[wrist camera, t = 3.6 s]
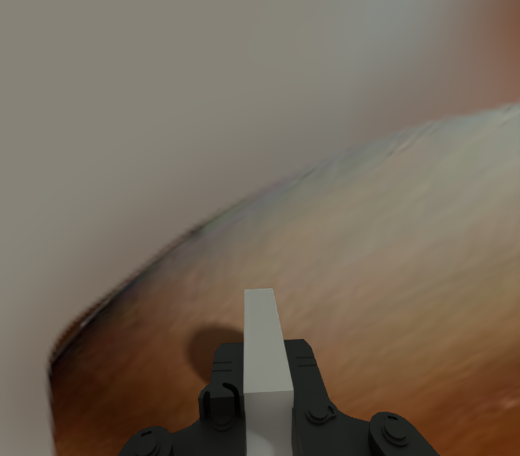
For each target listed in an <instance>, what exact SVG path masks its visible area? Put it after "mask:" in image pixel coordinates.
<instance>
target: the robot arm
mask: <svg viewBox="0 0 520 456" xmlns="http://www.w3.org/2000/svg"><path fill="white" fill-rule="evenodd" d="M198 402H199V413H200V418H199V419H198V420H197V421H196V422H195V423H194V424H192V425H191V426H189V427H187V428H185V429H183V430H180V431H178V432H175V433H172V434H170V433H169V432H168V430H167V429H165V428H162V427H160V426H152V427H148V428H145V429H143V430H141V431H139V432H138V433H136V434H135V435H133V436H132V437H131V438H130V439H129V441H128V442H127V443H126V444H125V445H124V447H123V448H122V450H121V451H120V453H119V454H118V456H292V451H293V456H440V455H439V454H438V453H437V452H436V451H435V450H434V449H433V447H432V446H431V445H430V444H429V443H428V442H427V441H426V440H425V438H424V437H423V436H422V435H421V434H420V433H419V432H418V431H417V429H416V428H415V427H414V426H413V425H412V424H411V423H409V422H408V421H407V420H406V419H405V418H403V417H401V416H399V415H397V414H394V413H390V412H378V413H377V414H375V415H374V416H372V418H371V420H370V422H368V421H364V420H360V419H356V418H353V417H350V416H347V415H345V414H343V413H342V412H340V411H339V410H338V409H337V407H336V406H335V405H334V404H333V403H332V402H331V401H330V399H329V397H328V394H327V391H326V389H325V386H324V383H323V380H322V377H321V374H320V371H319V368H318V366H317V363H316V360H315V358H314V354H313V351H312V348H311V346H310V345H309V344H308V343H307V342H306V341H305V340H304V339H295V340H283V336H282V331H281V326H280V321H279V316H278V312H277V307H276V302H275V297H274V292H273V288H267V289H245V294H244V343H225V344H221V345H220V346H219V347H218V349H217V350H216V352H215V355H214V361H213V367H212V374H211V380H210V384H208V385H207V386H206V387H205V388H204V389H203V390H202V391H201V393H200V395H199V398H198Z"/></svg>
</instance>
